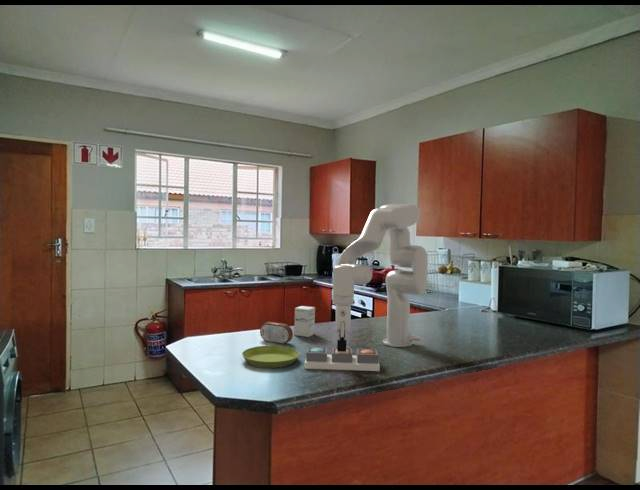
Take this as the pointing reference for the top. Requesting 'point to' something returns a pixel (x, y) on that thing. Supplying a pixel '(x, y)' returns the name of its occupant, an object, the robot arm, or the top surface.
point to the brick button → (366, 352)
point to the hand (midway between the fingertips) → (341, 350)
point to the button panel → (342, 360)
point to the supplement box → (304, 321)
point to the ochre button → (342, 351)
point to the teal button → (317, 350)
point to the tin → (276, 332)
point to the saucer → (270, 356)
